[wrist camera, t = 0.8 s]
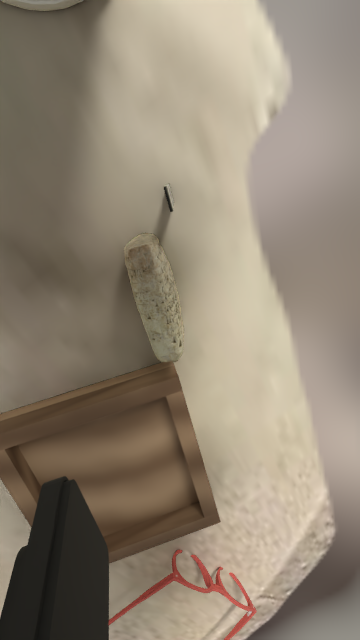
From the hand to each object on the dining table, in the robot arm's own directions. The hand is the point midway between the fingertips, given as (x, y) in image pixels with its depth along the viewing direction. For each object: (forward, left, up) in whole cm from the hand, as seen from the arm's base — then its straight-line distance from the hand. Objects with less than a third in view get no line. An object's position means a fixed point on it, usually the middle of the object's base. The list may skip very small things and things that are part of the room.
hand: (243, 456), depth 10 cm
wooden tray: (+17, -9, -21) cm, 28 cm away
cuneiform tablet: (-1, +1, -21) cm, 21 cm away
